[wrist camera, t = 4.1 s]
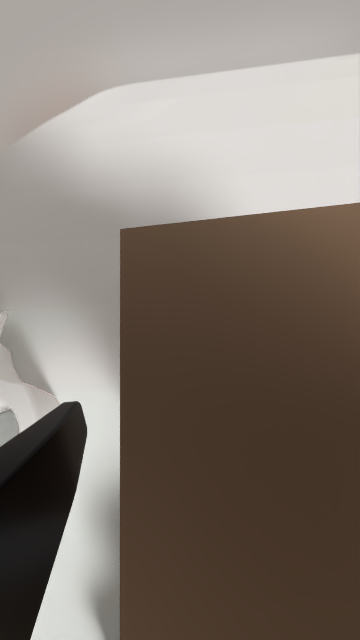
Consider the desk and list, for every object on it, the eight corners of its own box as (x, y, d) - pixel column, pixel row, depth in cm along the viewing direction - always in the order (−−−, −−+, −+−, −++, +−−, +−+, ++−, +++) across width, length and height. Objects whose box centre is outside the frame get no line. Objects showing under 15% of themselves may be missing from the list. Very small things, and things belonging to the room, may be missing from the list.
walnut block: (290, 500, 14) (867, 750, 2) (194, 507, 14) (118, 783, 2) (272, 402, 15) (504, 186, 3) (187, 410, 15) (120, 229, 4)
